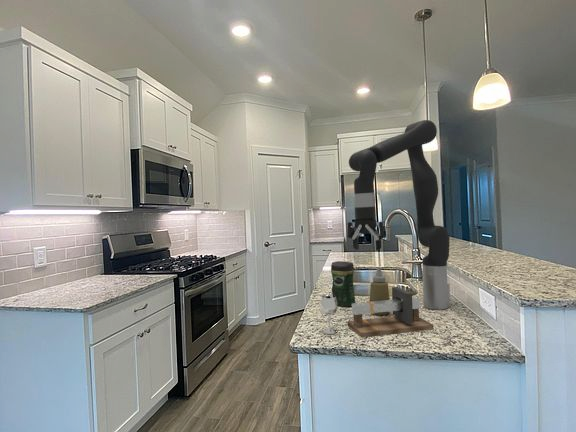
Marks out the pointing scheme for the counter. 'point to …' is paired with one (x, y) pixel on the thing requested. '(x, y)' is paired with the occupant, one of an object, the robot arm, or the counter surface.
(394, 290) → the dark grey flat piece
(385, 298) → the squeeze bottle
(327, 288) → the counter surface
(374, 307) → the grey square bar
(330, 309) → the wineglass
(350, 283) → the coffee jar
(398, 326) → the board
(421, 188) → the robot arm
